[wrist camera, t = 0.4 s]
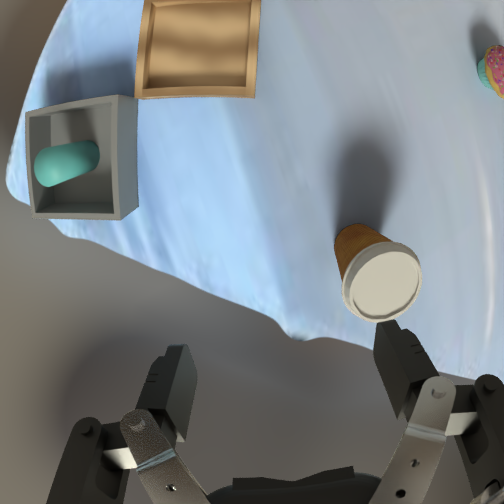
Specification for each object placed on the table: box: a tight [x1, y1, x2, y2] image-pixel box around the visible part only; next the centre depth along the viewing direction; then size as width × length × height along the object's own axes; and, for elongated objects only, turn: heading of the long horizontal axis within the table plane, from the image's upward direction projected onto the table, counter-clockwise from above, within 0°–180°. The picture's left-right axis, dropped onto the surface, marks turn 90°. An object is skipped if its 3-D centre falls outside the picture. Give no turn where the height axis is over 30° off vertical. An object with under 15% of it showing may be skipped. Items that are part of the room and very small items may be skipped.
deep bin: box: [25, 94, 139, 220], centre depth 33 cm, size 15×15×6 cm
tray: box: [134, 0, 261, 100], centre depth 28 cm, size 14×14×3 cm
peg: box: [34, 140, 100, 187], centre depth 30 cm, size 4×4×9 cm
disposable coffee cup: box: [334, 224, 422, 323], centre depth 34 cm, size 10×10×12 cm
